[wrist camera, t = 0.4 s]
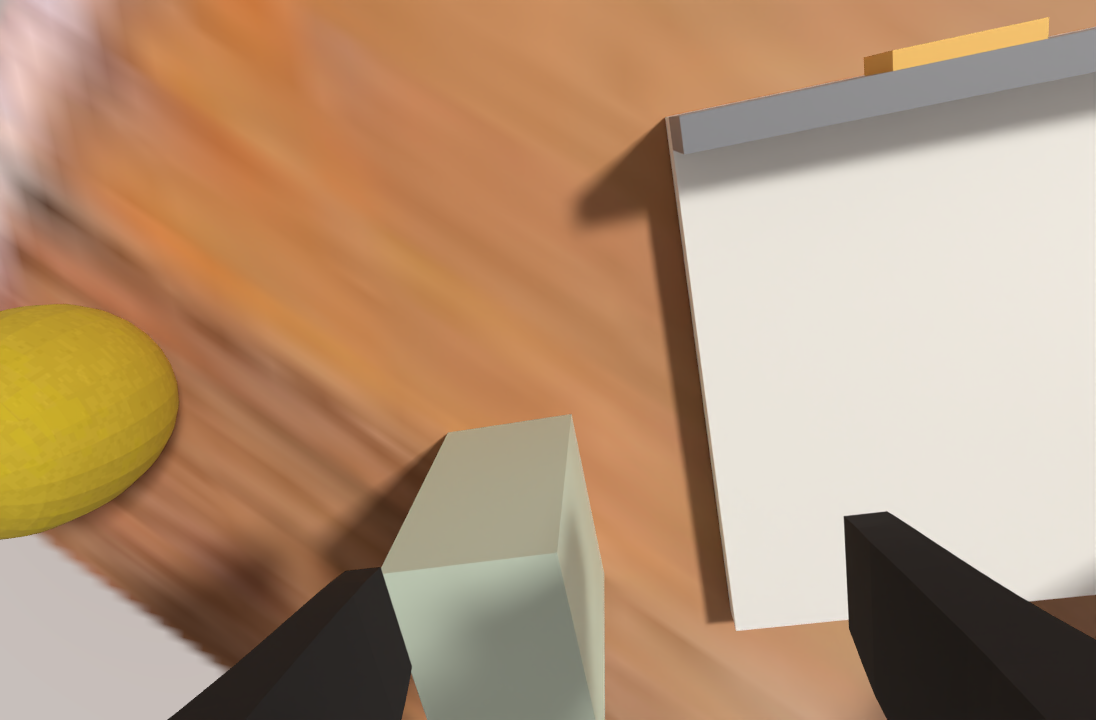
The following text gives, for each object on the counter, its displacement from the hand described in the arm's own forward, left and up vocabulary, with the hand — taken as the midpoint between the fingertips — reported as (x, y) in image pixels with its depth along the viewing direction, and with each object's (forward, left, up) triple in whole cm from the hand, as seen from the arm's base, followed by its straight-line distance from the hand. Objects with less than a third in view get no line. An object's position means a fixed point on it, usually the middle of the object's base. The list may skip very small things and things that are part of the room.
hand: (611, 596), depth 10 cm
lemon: (+3, +14, -10) cm, 18 cm away
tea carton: (-4, +3, -10) cm, 12 cm away
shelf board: (-1, -9, -10) cm, 13 cm away
